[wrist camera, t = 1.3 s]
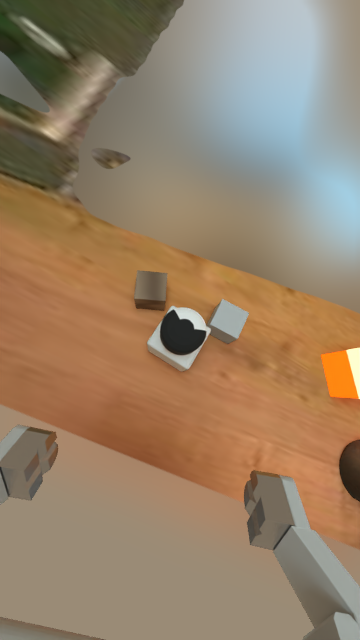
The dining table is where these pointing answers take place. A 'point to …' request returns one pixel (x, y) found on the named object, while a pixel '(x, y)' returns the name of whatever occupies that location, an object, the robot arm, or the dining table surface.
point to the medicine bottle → (179, 337)
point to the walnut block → (150, 290)
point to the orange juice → (343, 373)
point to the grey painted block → (227, 321)
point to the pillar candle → (351, 469)
